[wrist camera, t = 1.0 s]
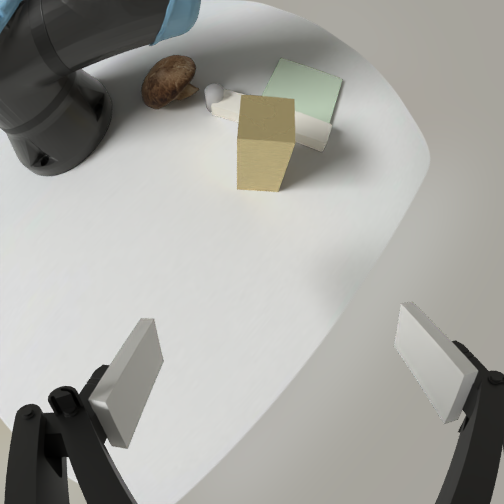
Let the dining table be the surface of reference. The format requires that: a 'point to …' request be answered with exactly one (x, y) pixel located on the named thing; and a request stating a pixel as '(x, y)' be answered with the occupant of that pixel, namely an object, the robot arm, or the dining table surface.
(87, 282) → the dining table surface
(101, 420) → the robot arm
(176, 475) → the dining table surface
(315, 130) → the door edge
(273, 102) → the block
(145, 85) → the mushroom
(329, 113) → the plate
